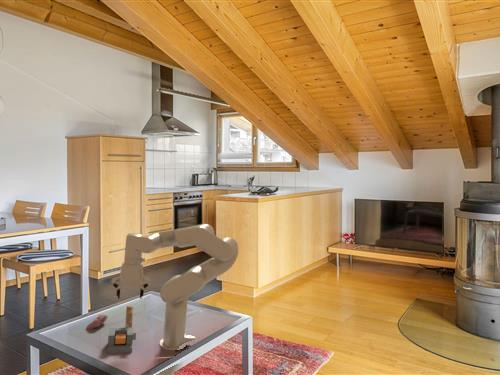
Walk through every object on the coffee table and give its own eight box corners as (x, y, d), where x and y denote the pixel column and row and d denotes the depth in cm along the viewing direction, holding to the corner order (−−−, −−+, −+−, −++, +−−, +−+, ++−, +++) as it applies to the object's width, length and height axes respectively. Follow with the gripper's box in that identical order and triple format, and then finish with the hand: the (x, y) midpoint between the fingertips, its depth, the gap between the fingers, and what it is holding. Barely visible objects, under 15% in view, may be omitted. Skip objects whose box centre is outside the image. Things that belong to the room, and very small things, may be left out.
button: (125, 339, 172) (126, 333, 172) (125, 343, 168) (125, 338, 168) (115, 339, 171) (116, 334, 171) (115, 344, 167) (115, 338, 167)
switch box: (132, 342, 176) (133, 327, 176) (131, 353, 167) (132, 337, 166) (108, 343, 173) (109, 328, 173) (106, 354, 164) (107, 338, 163)
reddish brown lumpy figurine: (92, 334, 184) (99, 322, 183) (85, 328, 185) (91, 317, 184) (104, 326, 194) (110, 315, 193) (97, 321, 194) (103, 309, 194)
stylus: (131, 335, 182) (133, 305, 181) (131, 337, 179) (133, 308, 179) (124, 335, 181) (126, 305, 181) (124, 338, 179) (126, 308, 178)
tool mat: (135, 334, 185) (135, 332, 185) (135, 340, 178) (135, 339, 178) (120, 334, 183) (120, 333, 183) (119, 341, 176) (119, 340, 176)
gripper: (152, 259, 184) (149, 294, 185) (113, 258, 180) (110, 294, 181) (152, 263, 177) (149, 300, 178) (112, 262, 172) (109, 300, 173)
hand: (129, 297), depth 179 cm, fingers open, 9 cm apart
